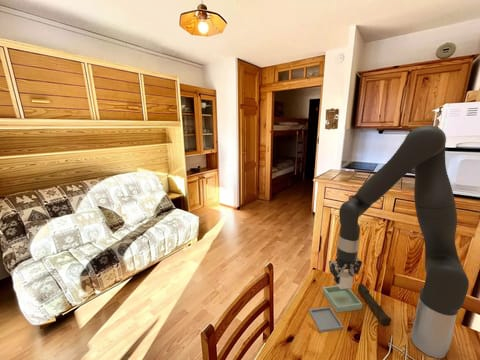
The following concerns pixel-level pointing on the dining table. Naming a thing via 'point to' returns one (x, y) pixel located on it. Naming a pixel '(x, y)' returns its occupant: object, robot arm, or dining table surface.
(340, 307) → the bin
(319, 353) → the dining table surface
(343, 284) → the beige block
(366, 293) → the hand tool
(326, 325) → the bin
